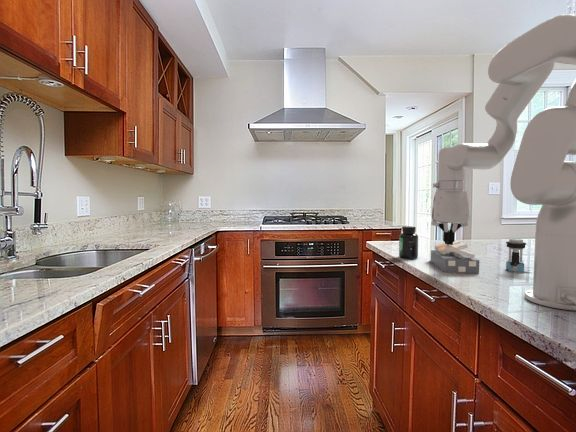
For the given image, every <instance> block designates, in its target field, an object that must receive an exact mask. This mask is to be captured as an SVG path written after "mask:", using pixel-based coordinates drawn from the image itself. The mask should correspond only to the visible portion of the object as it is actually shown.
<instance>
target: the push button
mask: <svg viewBox="0 0 576 432" xmlns="http://www.w3.org/2000/svg"><path fill="white" fill-rule="evenodd" d="M505 243H506V248H508V259H507V261H506V263H505V264H506V265H505V270H506V271H507V272H519V273H524V272H525V271H526V269H525V268H528V269H527V271H530V272H531V266H525V263H524V260H523V254H524V253H523V252H524V251H523V249H525V248H526V245H527V243H526V242H524V240H523V239H520V238H509V241H506V242H505Z"/></svg>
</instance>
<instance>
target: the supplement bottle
mask: <svg viewBox="0 0 576 432" xmlns="http://www.w3.org/2000/svg"><path fill="white" fill-rule="evenodd" d="M416 229H417V227H416V226H411V225H410V226H409V225H408V226H407V225H406V226H402V227H401V232H402V233H400V234H399V235H398V237H399V242H398V245H399V247H398V249H399V250H398V256H399V258H400V259H403V260H417V259H418V258H419V235H418V234H417V233H416V232H417V231H416Z"/></svg>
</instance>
